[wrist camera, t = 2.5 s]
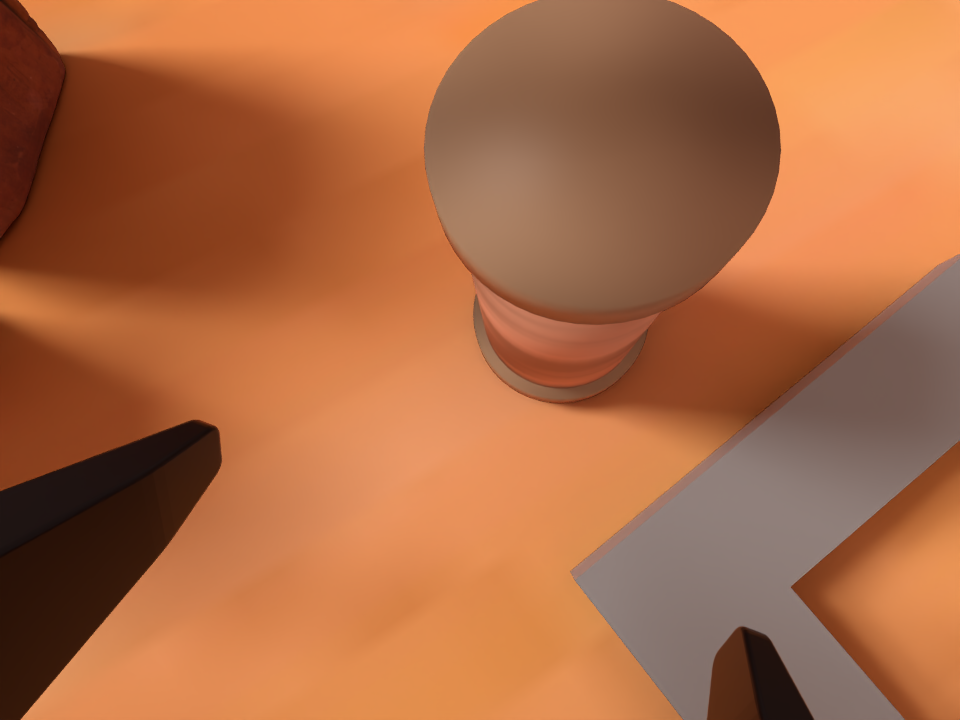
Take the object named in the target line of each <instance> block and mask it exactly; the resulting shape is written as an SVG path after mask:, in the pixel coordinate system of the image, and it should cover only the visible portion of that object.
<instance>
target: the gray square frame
mask: <svg viewBox="0 0 960 720" xmlns="http://www.w3.org/2000/svg"><path fill="white" fill-rule="evenodd" d="M958 441H960V254H958V255H957V256H955V257H953V258H951V259H949V260H947V261H945V262H943V263H941V264H939V265H938V266H937V267H936V268H934V269H933V270H932V271H931V272H929V273H928V274H927V275H926V276H925V277H923V278H922V279H921V280H920V281H919V282H917V283H916V284H915V285H914V286H913V287H911V288H910V289H909V290H908V291H907V292H905V293H904V294H903V295H902V296H901V297H899V298H898V299H897V300H896V301H895V302H893V303H892V304H891V305H890V306H889V307H887V308H886V309H885V310H884V311H883V312H881V313H880V314H879V315H878V316H877V317H875V318H874V319H873V320H872V321H871V322H869V323H868V324H867V325H866V326H865V327H863V328H862V329H861V330H860V331H859V332H857V333H856V334H855V335H854V336H853V337H851V338H850V339H849V340H848V341H847V342H845V343H844V344H843V345H842V346H841V347H839V348H838V349H837V350H836V351H835V352H833V353H832V354H831V355H830V356H829V357H827V358H826V359H825V360H824V361H823V362H821V363H820V364H819V365H818V366H817V367H815V368H814V369H813V370H812V371H811V372H809V373H808V374H807V375H806V376H805V377H803V378H802V379H801V380H800V381H799V382H797V383H796V384H795V385H794V386H793V387H791V388H790V389H789V390H788V391H787V392H785V393H784V394H783V395H782V396H781V397H779V398H778V399H777V400H776V401H775V402H773V403H772V404H771V405H770V406H769V407H767V408H766V409H765V410H764V411H763V412H761V413H760V414H759V415H758V416H757V417H755V418H754V419H753V420H752V421H751V422H749V423H748V424H747V425H746V426H745V427H743V428H742V429H741V430H740V431H739V432H737V433H736V434H735V435H734V436H733V437H731V438H730V439H729V440H728V441H726V442H725V443H724V444H723V445H722V446H720V447H719V448H718V449H717V450H716V451H714V452H713V453H712V454H711V455H710V456H708V457H707V458H706V459H705V460H704V461H702V462H701V463H700V464H699V465H698V466H696V467H695V468H694V469H693V470H692V471H690V472H689V473H688V474H687V475H686V476H684V477H683V478H682V479H681V480H680V481H678V482H677V483H676V484H675V485H674V486H672V487H671V488H670V489H669V490H668V491H666V492H665V493H664V494H663V495H662V496H660V497H659V498H658V499H657V500H656V501H654V502H653V503H652V504H651V505H650V506H648V507H647V508H646V509H645V510H644V511H642V512H641V513H640V514H639V515H638V516H636V517H635V518H634V519H633V520H632V521H630V522H629V523H628V524H627V525H626V526H624V527H623V528H622V529H621V530H620V531H618V532H617V533H616V534H615V535H614V536H612V537H611V538H610V539H609V540H608V541H606V542H605V543H604V544H603V545H602V546H600V547H599V548H598V549H597V550H596V551H594V552H593V553H592V554H591V555H590V556H588V557H587V558H586V559H585V560H584V561H582V562H581V563H580V564H579V565H578V566H576V567H575V568H574V569H573V570H572V571H570V572H571V574H572V576H573V578H574V580H575V581H576V582H577V584H578V585H579V586H580V588H581V589H582V590H583V591H584V593H585V594H586V595H587V597H588V598H589V599H590V600H591V602H592V603H593V604H594V606H595V607H596V608H597V609H598V611H599V612H600V613H601V615H602V616H603V617H604V618H605V620H606V621H607V622H608V624H609V625H610V626H611V627H612V629H613V630H614V631H615V633H616V634H617V635H618V636H619V638H620V639H621V640H622V642H623V643H624V644H625V645H626V647H627V648H628V649H629V651H630V652H631V653H632V654H633V656H634V657H635V658H636V660H637V661H638V662H639V663H640V665H641V666H642V667H643V669H644V670H645V671H646V672H647V674H648V675H649V676H650V678H651V679H652V680H653V681H654V683H655V684H656V685H657V687H658V688H659V689H660V690H661V692H662V693H663V694H664V696H665V697H666V698H667V699H668V701H669V702H670V703H671V705H672V706H673V707H674V709H675V710H676V711H677V712H678V714H679V715H680V716H681V718H682V719H683V720H707V713H708V704H709V694H710V684H711V675H712V666H713V661H714V658H715V655H716V653H717V652H718V650H719V649H720V648H721V646H722V645H723V644H724V643H725V641H726V640H727V639H728V638H729V637H730V635H731V634H732V633H733V632H734V630H735V629H736V628H737V627H740V626H745V627H748V628H750V629H753V630H756V631H758V632H761V633H763V634H765V635H767V636H768V637H769V638H770V640H771V641H772V643H773V644H774V646H775V648H776V650H777V652H778V654H779V655H780V657H781V659H782V661H783V663H784V665H785V666H786V668H787V670H788V672H789V674H790V675H791V677H792V679H793V681H794V683H795V685H796V686H797V688H798V690H799V692H800V694H801V696H802V697H803V699H804V701H805V703H806V705H807V707H808V708H809V710H810V712H811V714H812V716H813V718H814V719H815V720H905V719H904V718H903V717H902V715H901V714H900V713H899V712H898V711H897V710H896V709H895V707H894V706H893V705H892V704H891V703H890V702H889V700H888V699H887V698H886V697H885V696H884V695H883V693H882V692H881V691H880V690H879V689H878V688H877V687H876V685H875V684H874V683H873V682H872V681H871V680H870V678H869V677H868V676H867V675H866V674H865V673H864V672H863V670H862V669H861V668H860V667H859V666H858V665H857V663H856V662H855V661H854V660H853V659H852V658H851V656H850V655H849V654H848V653H847V652H846V651H845V650H844V648H843V647H842V646H841V645H840V644H839V643H838V641H837V640H836V639H835V638H834V637H833V636H832V634H831V633H830V632H829V631H828V630H827V629H826V628H825V626H824V625H823V624H822V623H821V622H820V621H819V619H818V618H817V617H816V616H815V615H814V614H813V613H812V611H811V610H810V609H809V608H808V607H807V606H806V604H805V603H804V602H803V601H802V600H801V599H800V597H799V596H798V595H797V594H796V593H795V592H794V591H793V589H792V588H791V586H792V585H793V584H794V583H795V582H797V581H798V580H799V579H800V578H801V577H802V576H804V575H805V574H806V573H807V572H808V571H809V570H810V569H812V568H813V567H814V566H815V565H816V564H817V563H819V562H820V561H821V560H822V559H823V558H824V557H825V556H827V555H828V554H829V553H830V552H831V551H832V550H834V549H835V548H836V547H837V546H838V545H839V544H841V543H842V542H843V541H844V540H845V539H846V538H847V537H849V536H850V535H851V534H852V533H853V532H854V531H856V530H857V529H858V528H859V527H860V526H861V525H862V524H864V523H865V522H866V521H867V520H868V519H869V518H871V517H872V516H873V515H874V514H875V513H876V512H877V511H879V510H880V509H881V508H882V507H883V506H884V505H886V504H887V503H888V502H889V501H890V500H891V499H893V498H894V497H895V496H896V495H897V494H898V493H899V492H901V491H902V490H903V489H904V488H905V487H906V486H908V485H909V484H910V483H911V482H912V481H913V480H914V479H916V478H917V477H918V476H919V475H920V474H921V473H923V472H924V471H925V470H926V469H927V468H928V467H929V466H931V465H932V464H933V463H934V462H935V461H936V460H938V459H939V458H940V457H941V456H942V455H943V454H945V453H946V452H947V451H948V450H949V449H950V448H951V447H953V446H954V445H955V444H956V443H957V442H958Z"/></svg>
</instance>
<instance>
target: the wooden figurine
mask: <svg viewBox="0 0 960 720" xmlns="http://www.w3.org/2000/svg"><path fill="white" fill-rule="evenodd" d="M64 77H65V67H64V64H63V62H62V60H61V57H60V55H59V53H58V51H57V49H56V48H55V46H54V45H53V43H52V42H51V41H50V40H49V39H48V37H47V36H46V34H45V33H44V32H43V31H42V30H41V29H40V28H39V27H38V25H37V23H36V22H35V21H34V20H33V19H32V18H31V17H30V16H29V14H28V12H27V10H26V9H25V8H24V7H23V6H22V4H21V3H20V2H19V1H18V0H0V238H1V237H2V235H3V234H4V233H5V232H6V230H7V229H8V227H9V226H10V225H11V223H12V222H13V221H14V220H15V219H16V218H17V217H18V215H19V214H20V212H21V211H22V209H23V207H24V204H25V202H26V199H27V196H28V193H29V191H30V187H31V183H32V180H33V177H34V175H35V172H36V168H37V161H38V158H39V155H40V153H41V150H42V146H43V141H44V138H45V135H46V132H47V130H48V127H49V125H50V123H51V119H52V116H53V113H54V110H55V107H56V104H57V100H58V97H59V94H60V91H61V86H62V84H63V81H64Z"/></svg>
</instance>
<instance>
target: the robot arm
mask: <svg viewBox="0 0 960 720" xmlns="http://www.w3.org/2000/svg"><path fill="white" fill-rule="evenodd" d="M221 462H222V455H221V444H220V433H219V430H218V428H217V427H216V426H214V425H211V424H209V423H206V422H203V421H201V420H191V421H188V422H185V423H183V424H180V425H177V426H175V427H172V428H169V429H166V430H164V431H161V432H158V433H156V434H153V435H150V436H148V437H145V438H142V439H140V440H137V441H134V442H132V443H129V444H126V445H123V446H121V447H118V448H115V449H113V450H110V451H107V452H105V453H102V454H99V455H97V456H94V457H91V458H88V459H86V460H83V461H80V462H78V463H75V464H72V465H70V466H67V467H64V468H62V469H59V470H56V471H54V472H51V473H48V474H45V475H43V476H40V477H37V478H35V479H32V480H29V481H27V482H24V483H21V484H19V485H16V486H13V487H10V488H8V489H5V490H2V491H0V720H21V718H22V717H23V716H24V715H25V714H26V713H27V711H28V710H29V709H30V708H31V707H32V705H33V704H34V703H35V702H36V701H37V700H38V698H39V697H40V696H41V695H42V694H43V692H44V691H45V690H46V689H47V688H48V687H49V685H50V684H51V683H52V682H53V681H54V679H55V678H56V677H57V676H58V675H59V674H60V672H61V671H62V670H63V669H64V668H65V666H66V665H67V664H68V663H69V662H70V661H71V659H72V658H73V657H74V656H75V655H76V653H77V652H78V651H79V650H80V649H81V648H82V646H83V645H84V644H85V643H86V642H87V640H88V639H89V638H90V637H91V636H92V635H93V633H94V632H95V631H96V630H97V629H98V627H99V626H100V625H101V624H102V623H103V622H104V620H105V619H106V618H107V617H108V616H109V614H110V613H111V612H112V611H113V610H114V608H115V607H116V606H117V605H118V604H119V603H120V601H121V600H122V599H123V598H124V597H125V595H126V594H127V593H128V592H129V591H130V590H131V588H132V587H133V586H134V585H135V584H136V582H137V581H138V580H139V579H140V578H141V577H142V575H143V574H144V573H145V572H146V571H147V569H148V568H149V567H150V566H151V565H152V564H153V562H154V561H155V560H156V559H157V558H158V556H159V555H160V554H161V553H162V551H163V550H164V549H165V548H166V547H167V545H168V544H169V542H170V541H171V540H172V538H173V537H174V536H175V534H176V533H177V531H178V530H179V528H180V527H181V525H182V524H183V522H184V521H185V520H186V518H187V517H188V515H189V514H190V512H191V511H192V509H193V508H194V506H195V505H196V503H197V502H198V501H199V499H200V498H201V496H202V495H203V493H204V492H205V490H206V489H207V487H208V486H209V485H210V483H211V482H212V480H213V479H214V477H215V476H216V474H217V473H218V471H219V469H220V466H221ZM707 720H815V719H814V718H813V716H812V714H811V712H810V710H809V708H808V707H807V705H806V703H805V701H804V699H803V697H802V696H801V694H800V692H799V690H798V688H797V686H796V685H795V683H794V681H793V679H792V677H791V675H790V674H789V672H788V670H787V668H786V666H785V665H784V663H783V661H782V659H781V657H780V655H779V654H778V652H777V650H776V648H775V646H774V644H773V643H772V641H771V640H770V638H769V637H768V636H767V635H765V634H763V633H761V632H758V631H756V630H753V629H750V628H748V627H745V626H740V627H737V628H736V629H735V630H734V632H733V633H732V634H731V635H730V637H729V638H728V639H727V640H726V641H725V643H724V644H723V645H722V646H721V648H720V649H719V650H718V652H717V653H716V655H715V658H714V661H713V666H712V675H711V684H710V694H709V704H708V713H707Z"/></svg>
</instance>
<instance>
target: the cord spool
mask: <svg viewBox="0 0 960 720" xmlns="http://www.w3.org/2000/svg"><path fill="white" fill-rule="evenodd" d="M424 153H425V168H426V173H427V178H428V183H429V187H430V191H431V194H432V197H433V200H434V204H435V207H436V210H437V213H438V216H439V219H440V222H441V224H442V227H443V230H444V233H445V235H446V237H447V239H448V241H449V242H450V244H451V246H452V248H453V250H454V252H455V253H456V254H457V256H458V257H459V258H460V260H461V261H462V263H463V264H464V265H465V267H466V268H467V269H468V270H469V271H470V272H471V273H472V277H473V281H474V285H475V289H476V296H475V301H474V312H473V318H474V328H475V332H476V337H477V340H478V343H479V346H480V349H481V351H482V354H483V356H484V358H485V360H486V362H487V363H488V365H489V366H490V368H491V369H492V370H493V372H494V373H495V374H496V375H497V376H498V377H499V378H500V379H501V380H502V381H503V382H504V383H505V384H507V385H508V386H509V387H510V388H512V389H514V390H515V391H517V392H518V393H520V394H523V395H525V396H527V397H529V398H533V399H536V400H539V401H544V402H550V403H568V402H576V401H580V400H584V399H587V398H590V397H593V396H595V395H597V394H599V393H601V392H603V391H605V390H606V389H608V388H609V387H610V386H612V385H613V384H614V383H615V382H617V381H618V380H619V379H620V378H621V377H622V376H623V375H624V374H625V373H626V372H627V370H628V369H629V368H630V367H631V365H632V364H633V363H634V362H635V360H636V358H637V357H638V355H639V353H640V351H641V349H642V347H643V345H644V342H645V339H646V335H647V331H648V327H649V326H650V325H651V324H652V322H653V321H654V320H655V319H656V318H657V316H658V315H659V314H660V313H661V312H662V311H665V310H667V309H669V308H671V307H672V306H674V305H676V304H678V303H680V302H682V301H684V300H686V299H687V298H688V297H690V296H691V295H693V294H694V293H696V292H697V291H698V290H700V289H701V288H703V287H704V286H705V285H706V284H707V283H708V282H709V281H710V280H711V279H712V278H713V277H714V276H716V275H717V274H718V273H719V271H720V270H721V269H722V268H723V267H724V266H725V265H726V264H727V263H728V262H729V261H730V260H731V259H732V258H733V256H734V255H735V254H736V253H737V252H738V251H739V250H740V249H741V247H742V246H743V245H744V244H745V243H746V241H747V240H748V239H749V238H750V236H751V235H752V234H753V233H754V231H755V229H756V228H757V226H758V224H759V223H760V221H761V219H762V218H763V216H764V214H765V212H766V210H767V208H768V205H769V203H770V200H771V198H772V196H773V193H774V189H775V185H776V181H777V177H778V173H779V164H780V154H781V145H780V129H779V124H778V119H777V114H776V110H775V107H774V104H773V101H772V98H771V96H770V93H769V90H768V88H767V86H766V84H765V82H764V80H763V79H762V77H761V75H760V73H759V71H758V69H757V68H756V67H755V65H754V64H753V63H752V61H751V60H750V59H749V57H748V56H747V54H746V53H745V52H744V51H743V50H742V49H741V48H740V47H739V46H738V45H737V44H736V43H735V41H734V40H733V39H732V38H731V37H729V36H728V35H727V34H726V33H725V32H723V31H722V30H721V29H720V28H718V27H717V26H716V25H715V24H713V23H712V22H710V21H708V20H707V19H705V18H704V17H702V16H700V15H699V14H697V13H696V12H694V11H691V10H689V9H687V8H685V7H683V6H681V5H679V4H676V3H674V2H671V1H668V0H538V1H535V2H533V3H530V4H527V5H525V6H523V7H521V8H519V9H517V10H515V11H513V12H511V13H509V14H507V15H505V16H504V17H502V18H500V19H499V20H497V21H496V22H494V23H493V24H491V25H490V26H488V27H487V28H486V29H485V30H484V31H482V32H481V33H480V34H479V35H478V36H476V37H475V38H474V39H473V40H472V41H471V42H470V43H469V44H468V45H467V46H466V47H465V48H464V50H463V51H462V52H461V53H460V54H459V55H458V56H457V58H456V59H455V61H454V62H453V63H452V65H451V66H450V67H449V69H448V70H447V72H446V74H445V76H444V77H443V79H442V81H441V83H440V85H439V87H438V89H437V91H436V94H435V96H434V99H433V102H432V104H431V107H430V111H429V115H428V120H427V124H426V131H425V143H424Z"/></svg>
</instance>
